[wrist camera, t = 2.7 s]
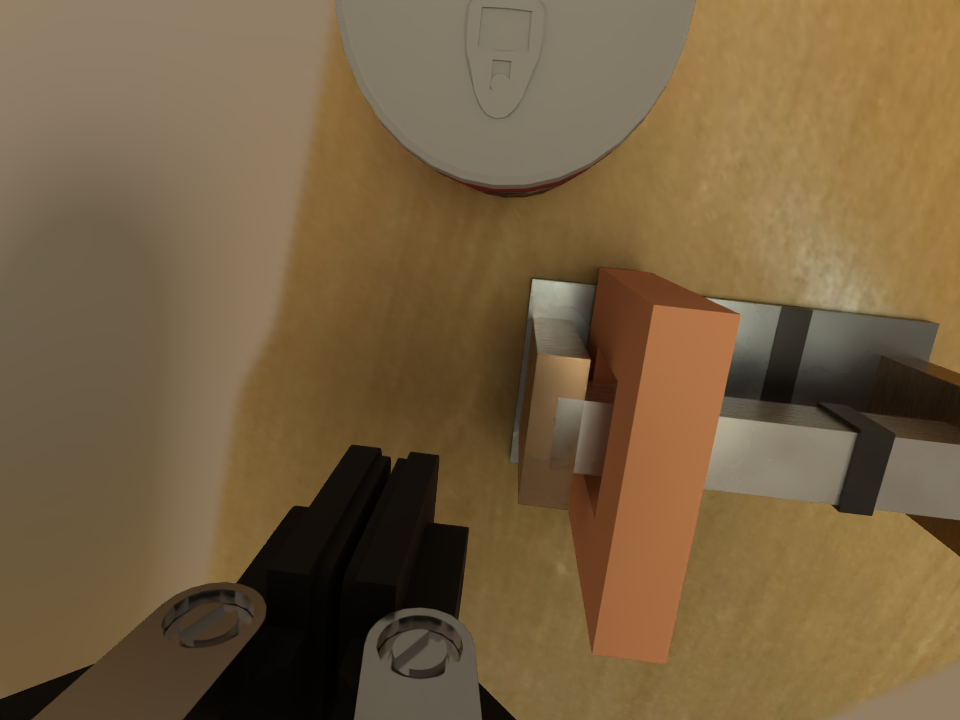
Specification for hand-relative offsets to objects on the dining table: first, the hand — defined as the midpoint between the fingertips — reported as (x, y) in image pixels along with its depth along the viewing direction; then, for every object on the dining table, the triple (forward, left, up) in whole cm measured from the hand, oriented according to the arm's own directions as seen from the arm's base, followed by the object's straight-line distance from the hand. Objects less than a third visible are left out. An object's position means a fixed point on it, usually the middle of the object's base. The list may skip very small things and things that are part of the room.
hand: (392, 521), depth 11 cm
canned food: (+10, -1, -15) cm, 18 cm away
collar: (-1, -6, -13) cm, 15 cm away
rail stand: (-1, -11, -15) cm, 18 cm away
